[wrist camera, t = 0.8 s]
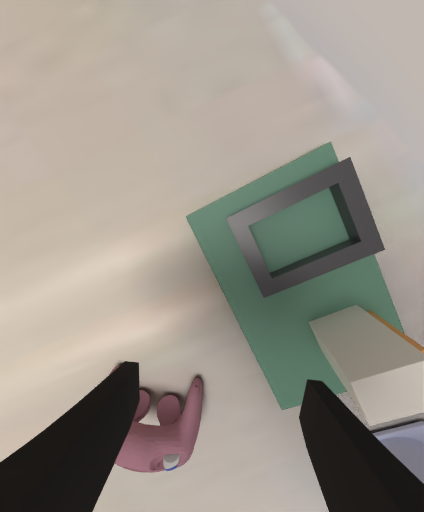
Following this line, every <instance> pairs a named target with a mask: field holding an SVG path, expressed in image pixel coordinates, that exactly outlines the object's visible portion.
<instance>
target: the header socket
mask: <svg viewBox="0 0 424 512" xmlns="http://www.w3.org/2000/svg"><path fill="white" fill-rule="evenodd" d="M326 188H330V191H331V193H332V196H333V198H334V201H335V203H336V206H337V208H338V211H339V213H340V216H341V219H342V221H343V224H344V226H345V229H346V231H347V234H348V236H349V240H346V241H344V242H342V243H339V244H337V245H335V246H332V247H330V248H327V249H325V250H323V251H320V252H318V253H316V254H313V255H311V256H309V257H306V258H304V259H302V260H299V261H297V262H294V263H292V264H290V265H287V266H285V267H283V268H280V269H278V270H276V271H273V272H271V273H269V271H268V268H267V266H266V264H265V262H264V260H263V258H262V255H261V253H260V251H259V249H258V247H257V245H256V242H255V240H254V238H253V236H252V234H251V232H250V229H249V227H248V226H249V225H251V224H253V223H255V222H257V221H260V220H262V219H264V218H266V217H268V216H270V215H272V214H274V213H276V212H278V211H280V210H283V209H285V208H287V207H289V206H291V205H293V204H295V203H297V202H299V201H301V200H303V199H306V198H308V197H310V196H312V195H314V194H316V193H318V192H320V191H322V190H324V189H326ZM226 219H227V221H228V224H229V226H230V228H231V230H232V232H233V234H234V236H235V238H236V240H237V243H238V245H239V247H240V249H241V251H242V253H243V255H244V257H245V259H246V262H247V264H248V266H249V268H250V270H251V272H252V274H253V276H254V279H255V281H256V283H257V285H258V287H259V289H260V291H261V293H262V295H263V298H266V297H268V296H271V295H273V294H276V293H278V292H281V291H283V290H286V289H288V288H291V287H293V286H296V285H298V284H301V283H303V282H306V281H308V280H310V279H313V278H315V277H318V276H320V275H323V274H325V273H328V272H330V271H333V270H335V269H338V268H340V267H343V266H345V265H348V264H350V263H353V262H355V261H358V260H360V259H363V258H365V257H368V256H370V255H373V254H375V253H378V252H380V251H383V250H385V248H384V246H383V243H382V240H381V238H380V235H379V232H378V230H377V227H376V224H375V222H374V219H373V216H372V214H371V211H370V208H369V206H368V203H367V200H366V198H365V195H364V192H363V190H362V187H361V184H360V182H359V179H358V177H357V174H356V171H355V169H354V166H353V163H352V161H351V158H350V157H349V158H347V159H345V160H343V161H341V162H339V163H337V164H335V165H333V166H331V167H329V168H327V169H325V170H323V171H321V172H319V173H317V174H315V175H313V176H311V177H309V178H307V179H305V180H303V181H301V182H299V183H297V184H295V185H293V186H291V187H289V188H286V189H284V190H282V191H280V192H278V193H276V194H274V195H272V196H270V197H268V198H266V199H264V200H262V201H260V202H258V203H256V204H254V205H252V206H250V207H248V208H246V209H244V210H242V211H240V212H238V213H236V214H234V215H232V216H230V217H228V218H226Z"/></svg>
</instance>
